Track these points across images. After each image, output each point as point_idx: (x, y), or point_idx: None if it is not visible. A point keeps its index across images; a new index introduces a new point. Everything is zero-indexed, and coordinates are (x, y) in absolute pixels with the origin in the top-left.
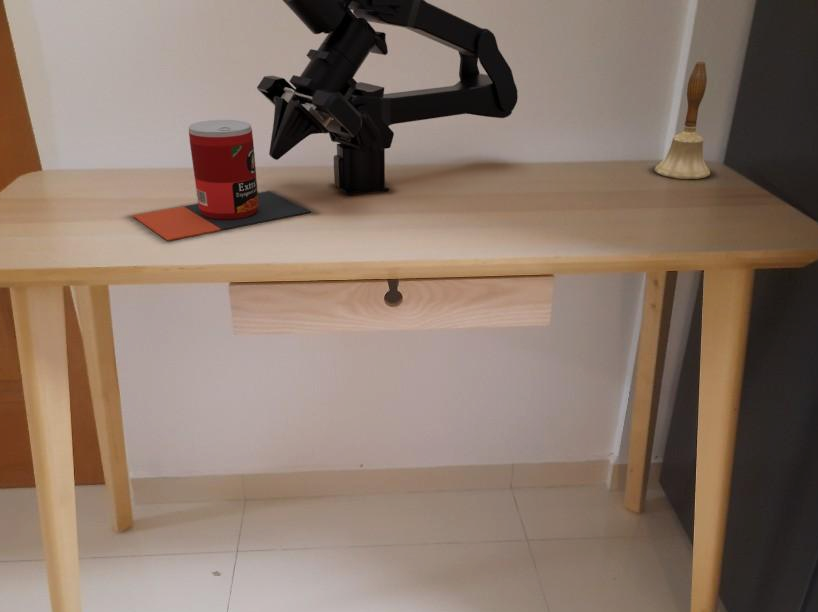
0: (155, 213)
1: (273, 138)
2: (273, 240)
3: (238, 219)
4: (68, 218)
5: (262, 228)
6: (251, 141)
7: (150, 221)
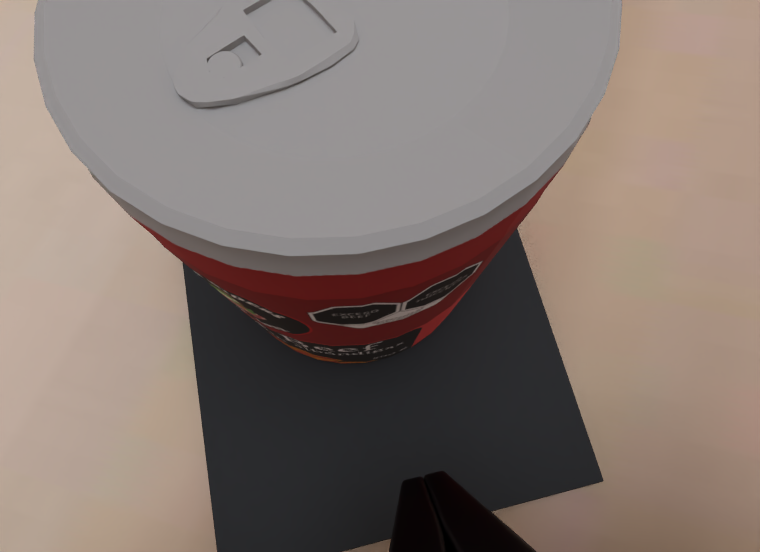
0: None
1: (481, 546)
2: None
3: None
4: None
5: (128, 326)
6: (191, 264)
7: None
